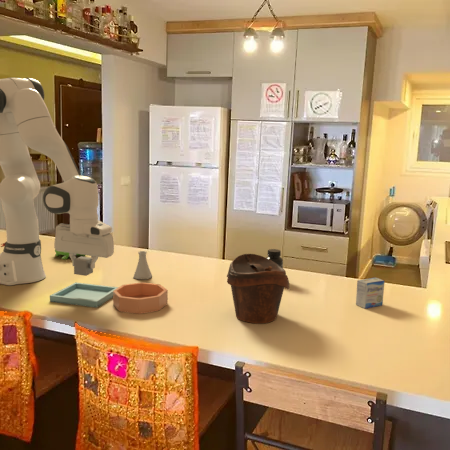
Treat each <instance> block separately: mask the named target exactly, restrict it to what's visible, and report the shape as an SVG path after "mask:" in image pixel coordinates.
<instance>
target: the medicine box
mask: <svg viewBox="0 0 450 450" xmlns="http://www.w3.org/2000/svg"><path fill="white" fill-rule="evenodd" d="M384 290H385V280H383V279H381V278H379V277H371V278H365V279H364V278H363V279H358V280H357V282H356V297H355V305H356V306H358V307H360V308H363V309H364V310H365V309H371V308H375V307H380V306H381V307H382V306H383V305H384V304H383V303H384V293H385V292H384Z"/></svg>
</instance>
